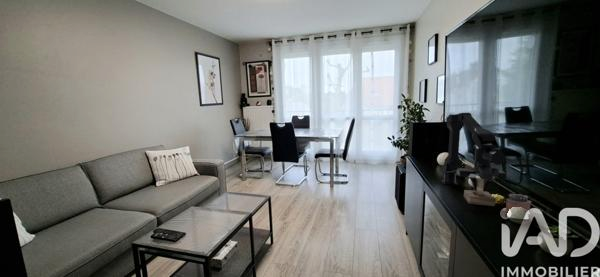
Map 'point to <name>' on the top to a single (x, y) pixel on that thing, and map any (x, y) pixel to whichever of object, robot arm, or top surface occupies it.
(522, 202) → the lighter
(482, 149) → the robot arm
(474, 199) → the bore block
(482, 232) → the top surface
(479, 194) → the pin
